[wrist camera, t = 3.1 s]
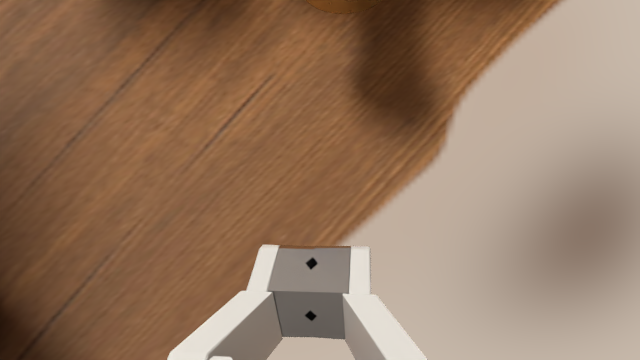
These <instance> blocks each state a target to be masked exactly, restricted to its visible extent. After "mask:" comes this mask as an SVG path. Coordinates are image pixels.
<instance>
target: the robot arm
mask: <svg viewBox="0 0 640 360" xmlns="http://www.w3.org/2000/svg"><path fill="white" fill-rule="evenodd" d="M282 337H318V338H332V339H345V341H346V343H347V345H348V346H349V348H350V350H351V352H352V354H353V356H354V358H355V360H428V359H427V358H426V357H425V356H424V354H423V353H422V352H421V350H420V349H419V348H418V347H417V345H416V344H415V343H414V342H413V340H412V339H411V338H410V337H409V335H408V334H407V333H406V331H405V330H404V329H403V328H402V326H401V325H400V324H399V323H398V321H397V320H396V319H395V317H394V316H393V315H392V314H391V312H390V311H389V310H388V308H387V307H386V306H385V305H384V303H383V302H382V301H381V300H380V298H379V297H378V296H377V295H371V258H370V247H369V246H352V247H351V246H295V245H262V246H261V248H260V249H259V252H258V255H257V258H256V262H255V265H254V268H253V271H252V274H251V277H250V281H249V284H248V287H247V290H246V291H240V292H239V293H238V294H237V295H236V296H234V297H233V298H232V299H231V300H230V301H229V302H228V303H226V304H225V305H224V306H223V307H222V308H221V309H219V310H218V311H217V312H216V313H215V314H214V315H213V316H211V317H210V318H209V319H208V320H207V321H206V322H205V323H203V324H202V325H201V326H200V327H199V328H198V329H196V330H195V331H194V332H193V333H192V334H191V335H190V336H188V337H187V338H186V339H185V340H184V341H183V342H181V343H180V344H179V345H178V346H177V347H176V348H175V349H173V350H172V351H171V352H170V354H169V356H168V359H167V360H266V359H267V358H268V357H269V355H270V354H271V353H272V351H273V350H274V349H275V348H276V346H277V345H278V344H279V343H280V341H281V340H282Z"/></svg>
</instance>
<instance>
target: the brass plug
mask: <svg viewBox="0 0 640 360" xmlns="http://www.w3.org/2000/svg"><path fill="white" fill-rule="evenodd" d="M306 1H307V2H308V3H309V4H311V5H312V6H314V7H316V8H318V9H320V10H322V11H325V12H330V13H336V14H350V13H356V12H360V11H364V10H367V9H369V8H371V7H373V6H375V5H376V4H378V3H379V2H380V1H381V0H306Z"/></svg>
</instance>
